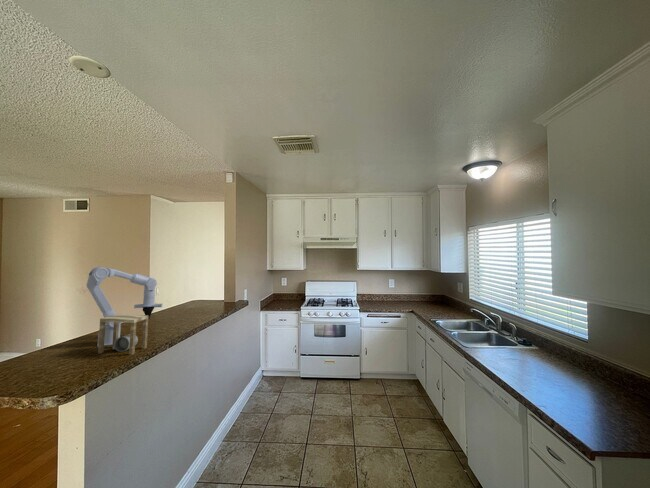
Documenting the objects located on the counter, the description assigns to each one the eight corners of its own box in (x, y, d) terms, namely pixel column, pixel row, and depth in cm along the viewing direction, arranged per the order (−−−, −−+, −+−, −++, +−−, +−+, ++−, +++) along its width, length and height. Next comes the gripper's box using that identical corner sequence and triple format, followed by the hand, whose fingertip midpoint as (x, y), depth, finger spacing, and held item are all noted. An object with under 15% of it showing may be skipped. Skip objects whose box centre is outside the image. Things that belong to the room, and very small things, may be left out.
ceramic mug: (139, 346, 140) (139, 332, 141) (128, 351, 132) (129, 336, 132) (118, 346, 139) (119, 332, 140) (107, 352, 131) (107, 337, 132)
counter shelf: (132, 354, 128) (134, 319, 129) (97, 353, 129) (100, 318, 130) (146, 347, 138) (148, 315, 139) (114, 346, 139) (116, 314, 140)
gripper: (132, 298, 152) (131, 321, 152) (160, 297, 157) (159, 320, 157) (137, 296, 159) (135, 318, 158) (163, 296, 164) (162, 317, 163)
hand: (147, 319), depth 158 cm, fingers closed
